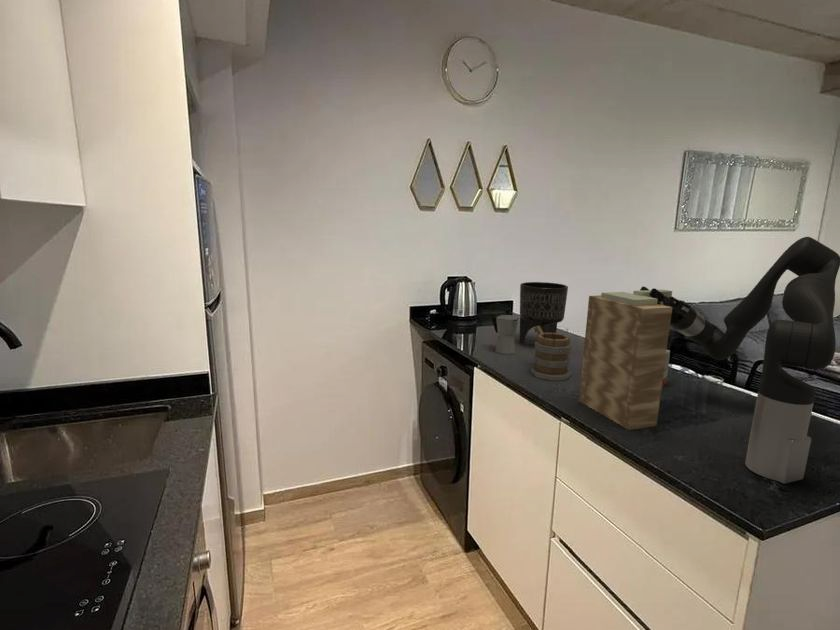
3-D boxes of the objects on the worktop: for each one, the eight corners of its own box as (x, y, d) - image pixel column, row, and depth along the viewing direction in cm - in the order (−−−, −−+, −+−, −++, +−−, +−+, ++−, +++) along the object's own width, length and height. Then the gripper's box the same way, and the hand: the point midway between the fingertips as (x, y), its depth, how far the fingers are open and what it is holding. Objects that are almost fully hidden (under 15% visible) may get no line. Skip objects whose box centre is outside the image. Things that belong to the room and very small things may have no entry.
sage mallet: (685, 302, 120) (686, 293, 120) (634, 305, 114) (635, 296, 114) (649, 295, 131) (650, 287, 131) (601, 298, 126) (601, 289, 125)
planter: (539, 337, 210) (543, 281, 205) (572, 347, 194) (578, 286, 189) (507, 342, 200) (510, 283, 195) (539, 353, 184) (544, 289, 179)
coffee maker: (524, 354, 183) (527, 310, 180) (508, 357, 178) (511, 312, 175) (498, 345, 195) (500, 304, 192) (483, 348, 191) (485, 306, 187)
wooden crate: (656, 425, 120) (672, 307, 113) (629, 430, 117) (644, 308, 111) (603, 398, 138) (614, 294, 132) (579, 401, 135) (589, 295, 129)
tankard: (576, 380, 154) (580, 337, 151) (541, 381, 152) (544, 338, 149) (550, 362, 173) (553, 324, 170) (518, 363, 171) (521, 324, 168)
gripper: (669, 302, 136) (633, 275, 129) (713, 311, 123) (675, 281, 116) (657, 324, 136) (620, 298, 129) (699, 336, 123) (661, 307, 116)
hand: (646, 290), depth 123 cm, fingers closed on sage mallet, 3 cm apart
